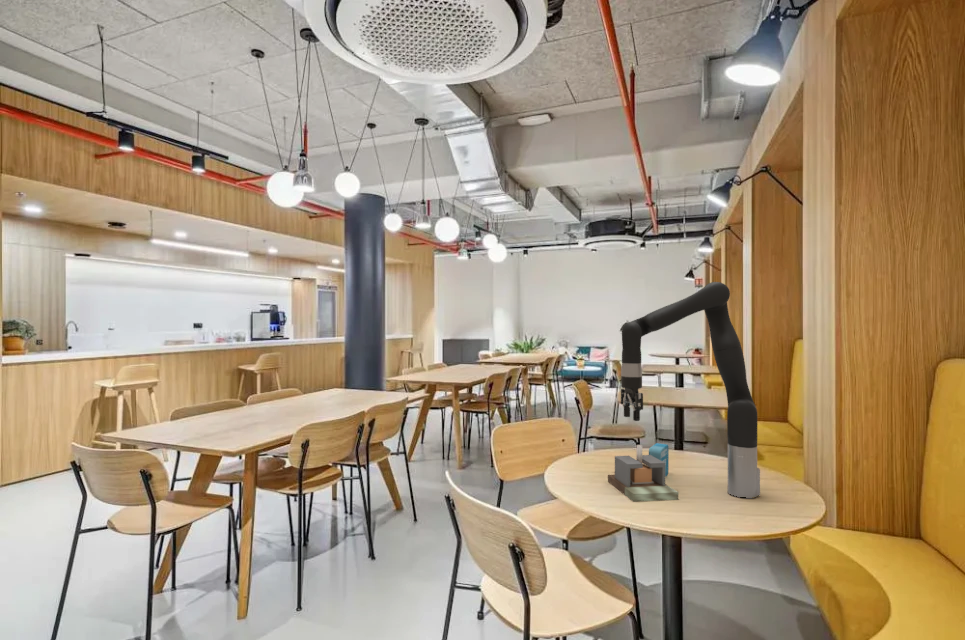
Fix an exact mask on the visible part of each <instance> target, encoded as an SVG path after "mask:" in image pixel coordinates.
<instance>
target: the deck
mask: <svg viewBox="0 0 965 640" xmlns="http://www.w3.org/2000/svg"><path fill="white" fill-rule="evenodd" d="M652 481H653V482H654V483H649V484H632V483H630V487H626V486H625V485H624V484H622V483H621V482H620V481H618V480H617V479H616V478H615V473H614V474H608V475H607V482H608V483H609V484H610V485H612V486H613V487H614V488H616V489H617V490H618V491H619V490H620V491H619V492H621V493H622V494H623V495H624V496H625V497H627V498H629V500H631V501H632V502H635V503H637V502H638V503H639V502H654V501H657V502H658V501H675V500H676V501H677V500H679V494H680V493H679V491H677V490H676V489H675V488H672V487H671V486H669V485H668V484H666V483H665V486H662V485H660V484H659V483H657V482H656V481H654V480H653V479H652Z"/></svg>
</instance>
